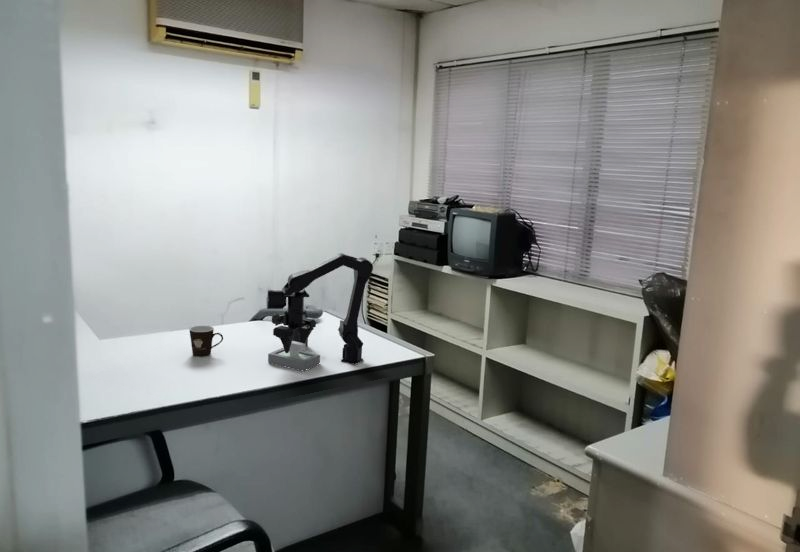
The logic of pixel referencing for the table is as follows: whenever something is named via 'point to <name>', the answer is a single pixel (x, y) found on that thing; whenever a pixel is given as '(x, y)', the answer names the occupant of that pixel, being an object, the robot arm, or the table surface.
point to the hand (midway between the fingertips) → (294, 349)
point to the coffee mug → (202, 340)
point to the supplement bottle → (297, 336)
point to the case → (294, 360)
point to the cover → (296, 351)
